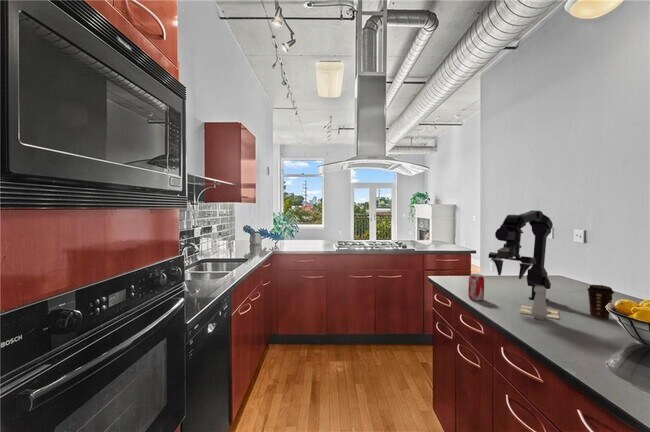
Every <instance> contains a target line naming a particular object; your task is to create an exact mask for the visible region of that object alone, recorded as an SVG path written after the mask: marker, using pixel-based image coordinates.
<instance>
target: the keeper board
mask: <svg viewBox="0 0 650 432" xmlns="http://www.w3.org/2000/svg"><path fill="white" fill-rule="evenodd" d="M531 309H532V305H525V304H521V306H520V310H519V314H520V315H528V316H533V315H532V313H531ZM547 312H548V315H547V316H546V318H545V319H547V318H548V319H554V320H560V315H559V310H558V309H555V308H548V307H547Z"/></svg>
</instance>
